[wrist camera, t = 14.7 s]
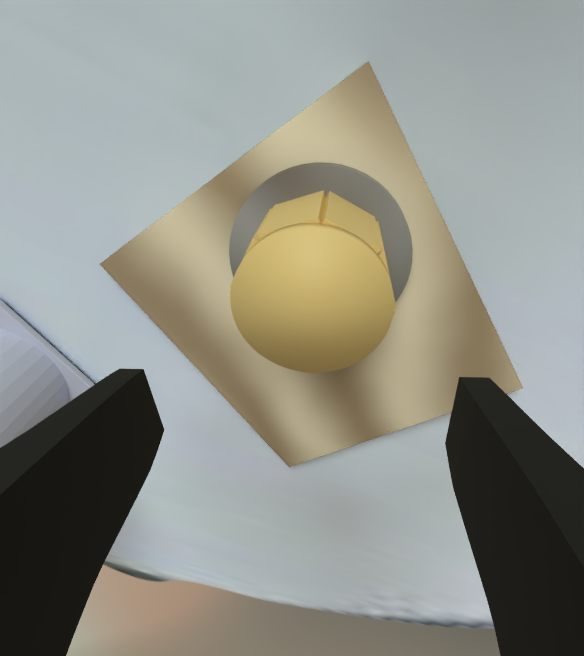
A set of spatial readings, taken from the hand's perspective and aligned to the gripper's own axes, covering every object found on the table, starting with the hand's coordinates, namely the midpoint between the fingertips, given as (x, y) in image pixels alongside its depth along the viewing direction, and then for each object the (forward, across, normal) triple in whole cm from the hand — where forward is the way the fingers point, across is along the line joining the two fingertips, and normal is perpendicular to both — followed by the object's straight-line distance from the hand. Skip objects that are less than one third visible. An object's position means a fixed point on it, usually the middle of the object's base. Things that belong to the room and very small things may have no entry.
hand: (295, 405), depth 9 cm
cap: (+8, 0, 0) cm, 8 cm away
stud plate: (+10, 0, +4) cm, 11 cm away
